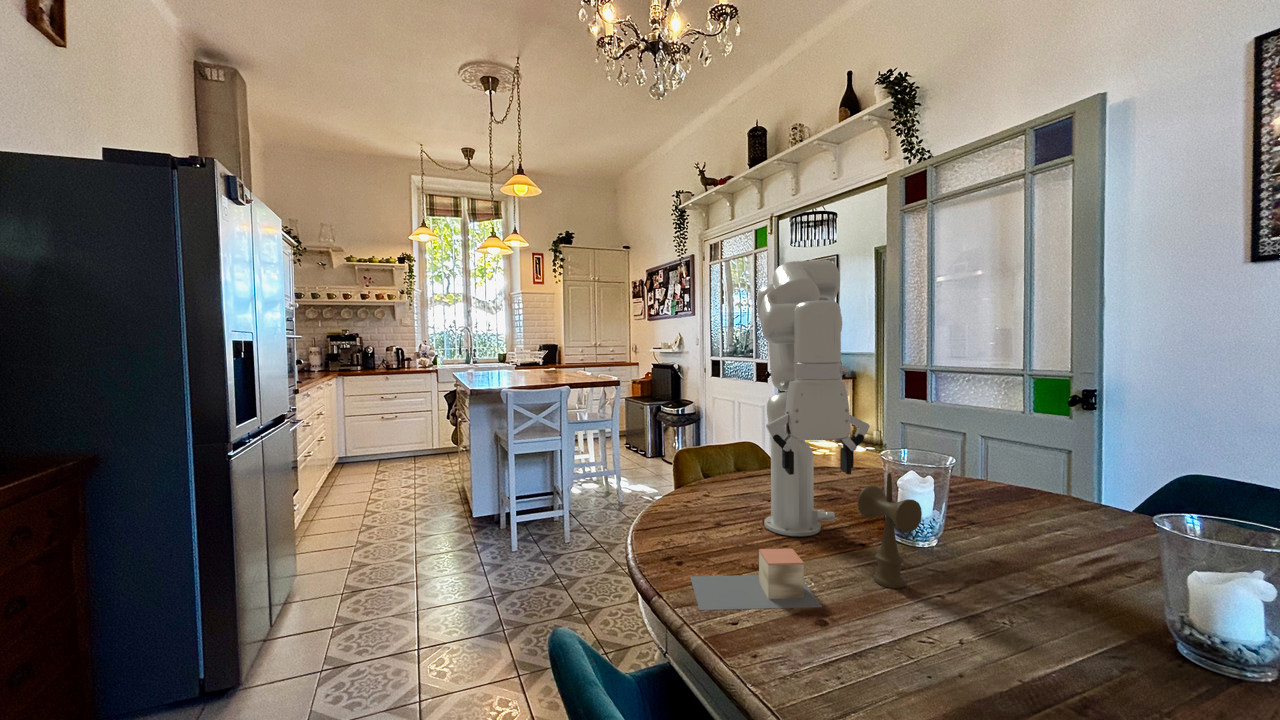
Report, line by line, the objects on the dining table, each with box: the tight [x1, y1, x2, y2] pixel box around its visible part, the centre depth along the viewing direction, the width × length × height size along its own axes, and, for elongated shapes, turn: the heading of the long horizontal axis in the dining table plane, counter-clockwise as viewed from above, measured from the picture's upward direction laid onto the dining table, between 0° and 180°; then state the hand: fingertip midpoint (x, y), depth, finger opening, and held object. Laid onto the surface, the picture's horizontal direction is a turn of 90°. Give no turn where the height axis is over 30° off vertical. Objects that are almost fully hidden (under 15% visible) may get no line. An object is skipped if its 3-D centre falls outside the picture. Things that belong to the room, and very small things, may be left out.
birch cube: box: [758, 548, 805, 599], centre depth 89 cm, size 6×6×6 cm
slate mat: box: [689, 574, 823, 611], centre depth 89 cm, size 20×12×1 cm, turn 92°
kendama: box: [857, 472, 923, 589], centre depth 92 cm, size 6×10×20 cm, turn 20°
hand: (817, 472), depth 89 cm, fingers open, 9 cm apart
